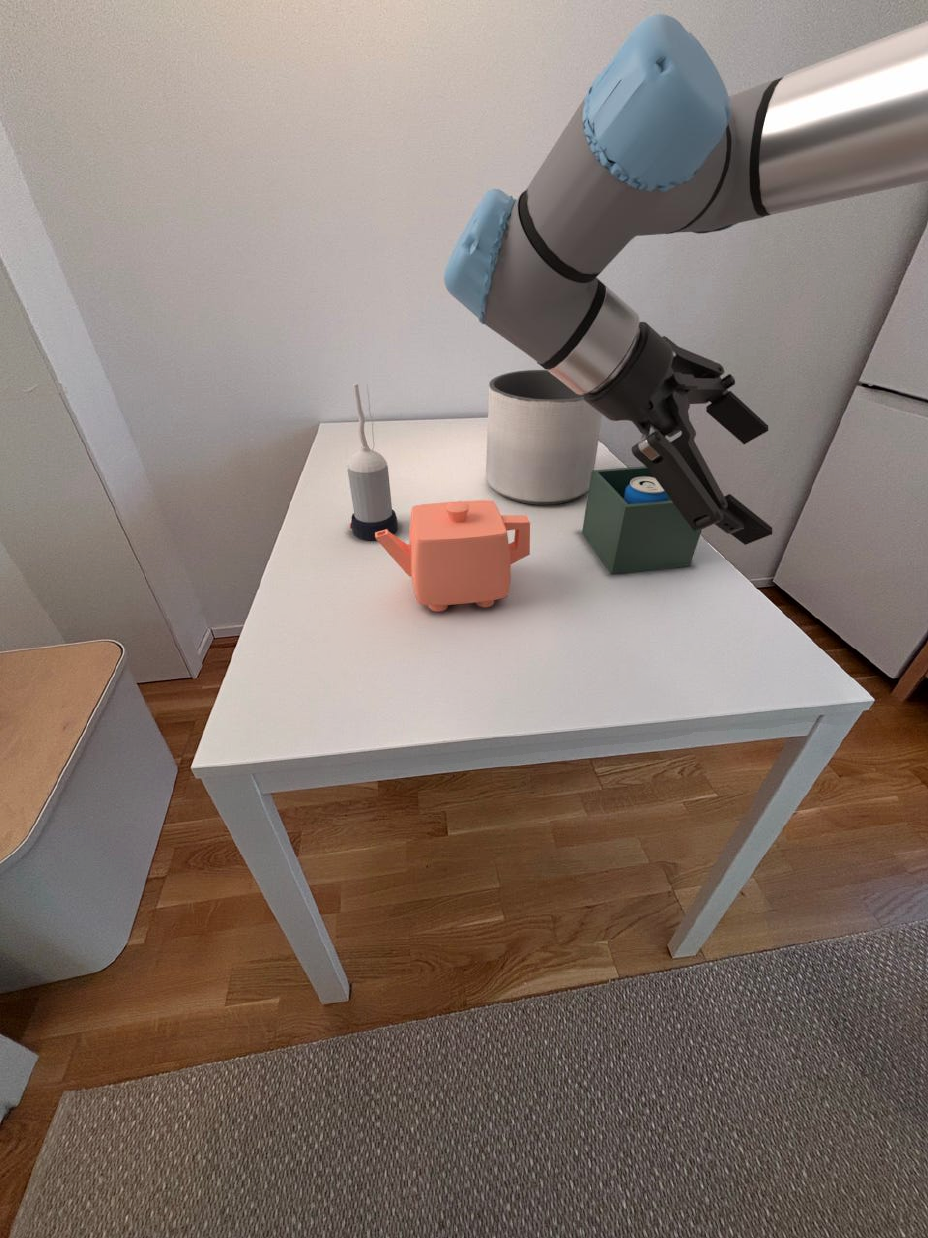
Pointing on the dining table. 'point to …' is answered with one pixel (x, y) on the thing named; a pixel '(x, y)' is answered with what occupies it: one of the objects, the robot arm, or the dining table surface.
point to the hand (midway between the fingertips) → (757, 483)
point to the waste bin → (634, 526)
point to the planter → (539, 438)
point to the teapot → (459, 552)
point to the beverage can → (644, 491)
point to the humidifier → (369, 487)
